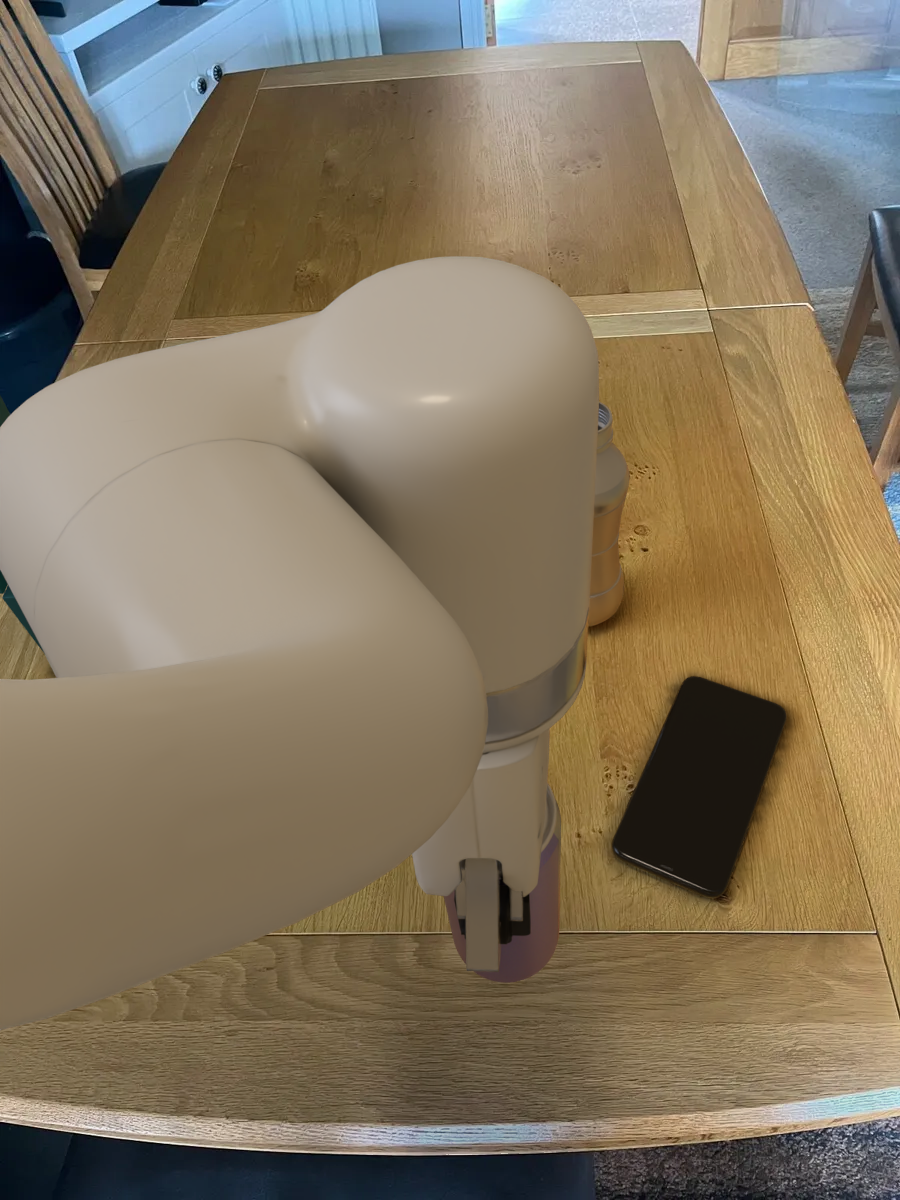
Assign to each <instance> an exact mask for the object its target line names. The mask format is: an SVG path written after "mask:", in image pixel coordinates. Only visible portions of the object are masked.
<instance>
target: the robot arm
mask: <svg viewBox="0 0 900 1200" xmlns="http://www.w3.org/2000/svg"><path fill="white" fill-rule="evenodd" d="M599 362H600V361H599V353H598V348H597V344H596V341H595V337H594V335H593V331H592V329H591V327H590V324H589V322H588V319H587V318H586V316H585V315H584V313H583V312H582V310H581V309H580V307H579V305H577V303H576V302H575V301H574V300H573V299H572V298H571V297H570V295H568V294H567V293H566V292H565V290H563V289H562V288H561V287H560V286H559V285H557V284H556V283H554V282H553V281H551V280H550V279H548V278H547V277H545V276H544V275H541V274H539V273H537V272H534V271H532V270H530V269H528V268H525V267H523V266H521V265H518V264H514V263H511V262H508V261H504V260H501V259H494V258H489V257H483V256H468V255H467V256H466V255H465V256H463V255H452V256H450V255H449V256H436V257H430V258H424V259H423V258H422V259H416V260H412V261H408V262H405V263H400V264H397V265H394V266H391V267H388V268H386V269H383V270H380V271H378V272H376V273H373V274H372V275H369V276H367V277H366V278H364V279H361V280H360V281H358V282H357V283H355V284H354V285H352V286H351V287H349V288H348V289H346V290H345V291H344V292H342V293H341V294H339V295H338V296H337V297H336V298H335V299H333V301H332V302H330V303H329V304H328V305H327V306H325V308H323V309H322V310H320V311H318V312H315V313H312V314H308V315H304V316H300V317H296V318H292V319H288V320H285V321H281V322H277V323H274V324H269V325H265V326H261V327H255V328H251V329H247V330H243V331H238V332H232V333H228V334H223V335H219V336H214V337H209V338H206V339H205V338H204V339H200V340H195V341H190V342H185V343H181V344H176V345H171V346H166V347H162V348H161V347H160V348H157V349H151V350H147V351H143V352H139V353H134V354H130V355H126V356H122V357H119V358H115V359H112V360H109V361H105V362H101V363H99V364H96V365H94V366H90V367H88V368H83V369H81V370H79V371H77V372H74V373H72V374H70V375H67V376H66V377H63V378H62V379H60V380H58V381H56V382H54V383H51V384H49V385H47V386H45V387H43V389H41V390H39V391H38V392H36V393H34V395H32V396H30V397H29V398H27V399H26V400H25V401H24V402H22V403H21V404H20V406H18V407H17V408H16V409H15V410H14V411H13V412H12V413H10V416H9V417H8V418H7V419H6V420H5V422H4V423H3V424H2V425H1V427H0V570H1V572H2V574H3V576H4V578H5V580H6V581H7V583H8V585H9V587H10V589H11V591H12V593H13V595H14V597H15V598H16V600H17V602H18V604H19V606H20V608H21V610H22V612H23V613H24V615H25V617H26V619H27V621H28V623H29V625H30V627H31V628H32V630H33V632H34V634H35V636H36V638H37V640H38V642H39V644H40V645H41V647H42V649H43V651H44V653H45V654H44V653H43V654H44V656H45V658H46V660H47V662H48V664H49V666H50V668H51V670H52V672H53V673H54V675H55V677H51V678H49V677H48V678H35V679H16V678H15V679H14V678H0V1031H3V1030H8V1029H12V1028H16V1027H21V1026H23V1025H27V1024H32V1023H35V1022H40V1021H43V1020H48V1019H51V1018H55V1017H57V1016H60V1015H62V1014H66V1013H68V1012H71V1011H73V1010H76V1009H79V1008H82V1007H84V1006H88V1005H91V1004H93V1003H97V1002H100V1001H103V1000H105V999H107V998H110V997H114V996H116V995H118V994H120V993H123V992H126V991H128V990H131V989H134V988H136V987H138V986H142V985H145V984H146V983H149V982H152V981H154V980H157V979H160V978H162V977H164V976H167V975H170V974H173V973H175V972H178V971H180V970H183V969H186V968H188V967H191V966H193V965H196V964H199V963H201V962H204V961H207V960H209V959H212V958H215V957H217V956H219V955H222V954H225V953H227V952H230V951H232V950H235V949H237V948H240V947H241V946H245V945H246V944H249V943H251V942H254V941H256V940H258V939H261V938H263V937H266V936H267V935H269V934H273V933H275V932H277V931H280V930H282V929H285V928H288V927H290V926H292V925H295V924H298V923H300V922H301V921H304V920H305V919H307V918H309V917H311V916H313V915H315V914H318V913H319V912H321V911H324V910H325V909H327V908H330V907H331V906H334V905H335V904H337V903H339V902H341V901H343V900H345V899H347V898H350V897H351V896H353V895H355V894H357V893H359V892H360V891H362V890H363V889H365V888H367V887H369V885H371V884H372V883H374V882H376V881H377V880H379V879H380V878H382V877H383V876H385V875H386V874H388V873H389V872H391V871H393V870H394V869H396V868H397V867H398V866H399V865H401V864H402V863H403V862H405V860H407V859H408V858H410V856H411V857H412V863H413V869H414V874H415V878H416V879H415V880H416V882H417V884H418V886H419V887H420V889H421V890H422V891H423V893H425V894H426V895H431V896H438V897H439V896H440V897H444V896H449V895H450V894H451V893H452V892H453V891H454V890H455V894H454V902H455V907H456V912H457V918H458V921H459V926H460V931H461V935H464V937H465V939H466V964H465V967H466V968H465V969H466V971H467V972H473V971H480V972H499V966H500V957H501V944H507V943H510V942H511V941H512V937H513V936H527V935H530V933H531V917H530V896H529V893H530V892H531V891H532V890H533V889H534V888H535V887H536V885H537V883H538V875H539V867H540V857H541V848H542V839H543V829H544V818H545V807H546V795H547V782H548V778H549V765H550V736H551V735H550V733H551V728H552V727H554V725H556V724H557V723H558V722H560V720H561V719H563V718H564V716H565V715H566V713H567V712H568V711H569V710H570V709H571V707H572V706H573V705H574V704H575V702H576V700H577V698H578V697H579V694H580V692H581V690H582V688H583V684H584V681H585V677H586V671H587V660H588V637H589V627H588V619H589V600H590V579H591V558H592V537H593V517H594V496H595V476H596V455H597V434H598V414H599V402H600V369H599V367H600V365H599ZM8 585H7V586H8ZM43 651H42V652H43ZM499 880H503V882H504V883H505V884H506V885H499Z"/></svg>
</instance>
